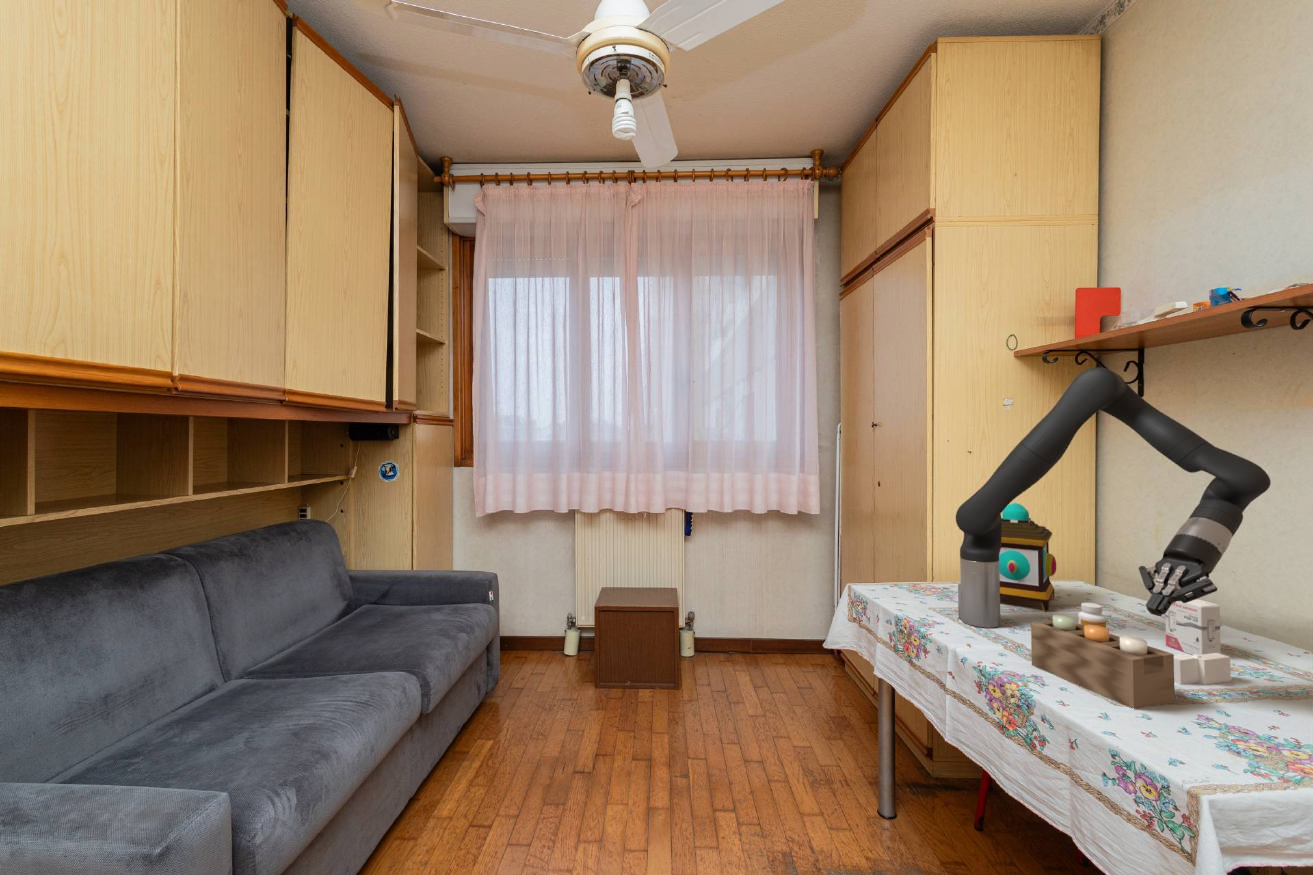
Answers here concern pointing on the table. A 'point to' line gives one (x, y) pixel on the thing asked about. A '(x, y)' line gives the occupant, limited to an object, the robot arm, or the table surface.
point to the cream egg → (1133, 645)
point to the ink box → (1193, 627)
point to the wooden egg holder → (1104, 666)
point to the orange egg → (1096, 633)
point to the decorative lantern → (1025, 558)
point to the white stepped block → (1201, 668)
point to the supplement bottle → (1091, 615)
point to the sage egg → (1064, 623)
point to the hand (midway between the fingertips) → (1153, 612)
